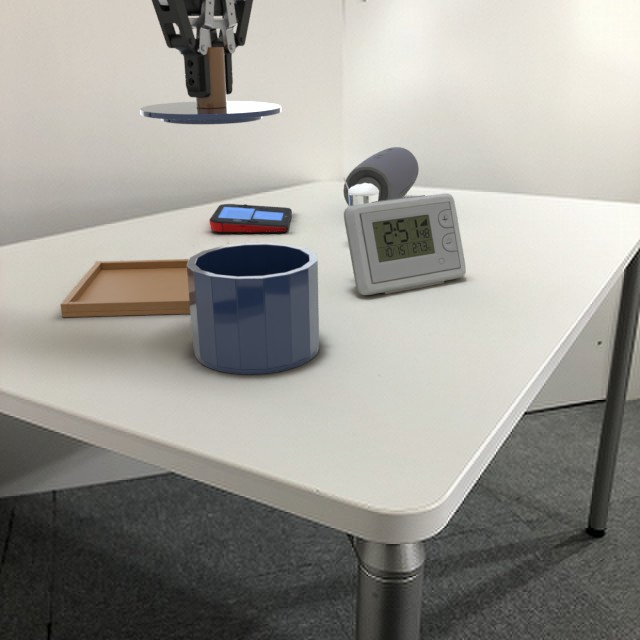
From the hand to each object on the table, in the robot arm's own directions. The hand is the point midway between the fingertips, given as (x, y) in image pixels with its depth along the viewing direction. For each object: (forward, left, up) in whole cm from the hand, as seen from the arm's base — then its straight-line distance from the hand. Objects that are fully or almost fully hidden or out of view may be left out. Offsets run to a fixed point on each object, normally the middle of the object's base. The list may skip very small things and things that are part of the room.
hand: (210, 94), depth 75 cm
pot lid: (0, 0, -2) cm, 2 cm away
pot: (+4, -5, -25) cm, 25 cm away
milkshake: (+18, +35, -25) cm, 47 cm away
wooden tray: (-10, +15, -25) cm, 31 cm away
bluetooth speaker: (+24, +59, -25) cm, 69 cm away
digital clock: (+22, +15, -25) cm, 36 cm away
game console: (+1, +50, -25) cm, 56 cm away
